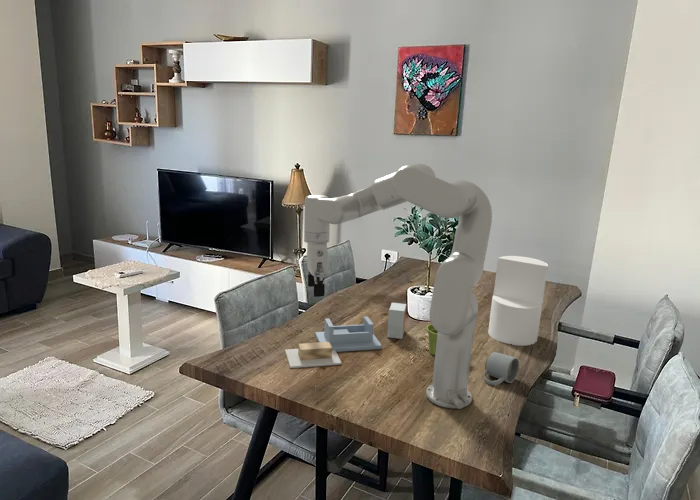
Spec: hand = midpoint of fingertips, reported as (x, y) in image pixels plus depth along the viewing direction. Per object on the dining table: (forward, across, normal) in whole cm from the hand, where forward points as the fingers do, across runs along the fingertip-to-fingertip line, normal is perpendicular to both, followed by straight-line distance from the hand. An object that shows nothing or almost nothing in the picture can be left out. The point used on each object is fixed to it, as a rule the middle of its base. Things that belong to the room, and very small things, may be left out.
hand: (315, 291), depth 158 cm
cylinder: (+24, +7, -75) cm, 79 cm away
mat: (+22, +1, +1) cm, 22 cm away
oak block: (+22, 0, 0) cm, 22 cm away
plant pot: (+23, -2, -41) cm, 48 cm away
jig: (+22, +11, -13) cm, 28 cm away
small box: (+23, +15, -32) cm, 42 cm away
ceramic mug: (+24, -22, -52) cm, 62 cm away
